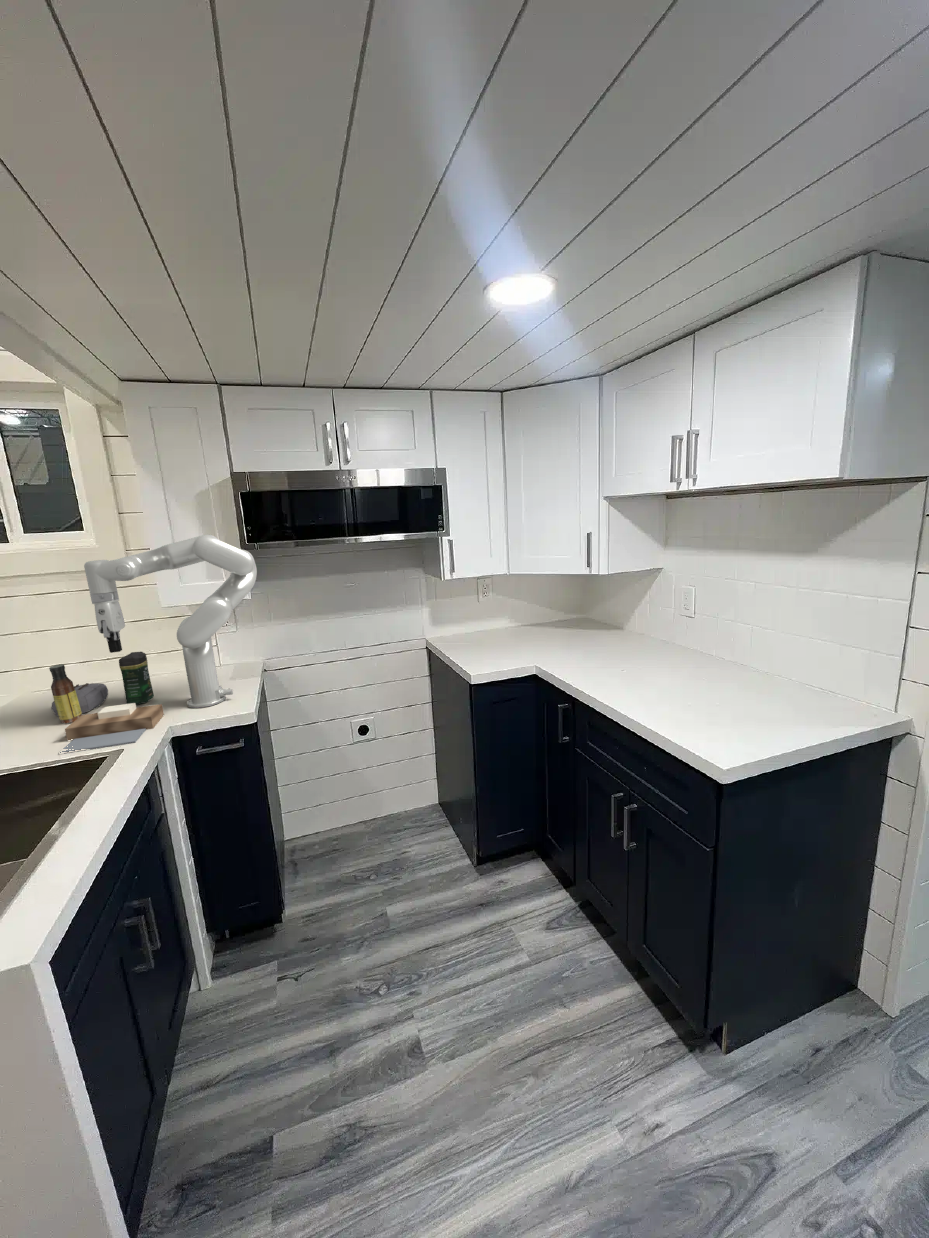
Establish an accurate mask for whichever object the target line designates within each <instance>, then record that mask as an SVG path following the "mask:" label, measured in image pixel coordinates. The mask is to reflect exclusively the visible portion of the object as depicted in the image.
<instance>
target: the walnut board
mask: <svg viewBox="0 0 929 1238" xmlns="http://www.w3.org/2000/svg"><path fill="white" fill-rule="evenodd" d="M98 713H99V712H95V713H88V714H86V713H85V714H82V715H81V716H80V717H79V718H78V719H76V720H75V721H74V722H72V723H69V725H68V726H66V727H65V728H64V732H65V735H66V736H65V737H66V740H71V739H77V738H84V737H91V736H97V735H104V734H111V733H118V732H125V731H131V730H138V729H145V728H146V730H153V729H154V728H155V727H156V726H157V724H159V722H160V721H161V720H162V718H163V717H164V716H165V714H164V708H163V704H162V703H161V704H160V703H158V704H152V705H146V706H136V709H135V710H134V712H133V713H132V714H131V715H126V716H119V717H111V718H104V719H99V718H98ZM163 715H164V716H163ZM160 719H161V720H160Z"/></svg>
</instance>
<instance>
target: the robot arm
mask: <svg viewBox="0 0 929 1238" xmlns="http://www.w3.org/2000/svg"><path fill="white" fill-rule="evenodd" d="M202 562H206V563H209V564H211V565H213V566H215V567H218V568H220V569H223V570H225V571H227V572H230V575H229V576H228V578H227V579H226V580H225V581H224V582H223V583H222V584H221V585H220V586H219V587H218V588H217V589H216V590H215V591H214V592H213V593H212V594H211V595H210V596H208V597H206V598H205V599H204V601H203V603H202V604H201V605H200V606H199V607H198V608H197V609H196V610H195V611H194V612H192V614H191V615H189V616H187V617H185V618H184V619H183V620H182V621H181V622H180V624H179V626H178V628H177V630H176V640H177V641H178V644H180V645H181V648H182V653H183V654H182V655H183V661H184V667H185V671H186V676H187V683H188V687H189V693H190V694H189V695H190V699H189V700H187V702H186V704H187V707H188V708H191V709H192V708H193V709H201V708H208V707H211V706H215V705H219V704H220V703H223V701H225V700H226V696H230V695H233V694H234V689H232V688H222V687H223V686H222V685H220V684H219V679H218V673H217V666H216V660H215V653H214V649H213V648H214V647H213V641H212V640H213V639H212V637H213V636H214V635H215V634H216V633H217V632H218V631H219V630H220V629H221V628H222V627H223V626H224V625H225V624H226V623H227V622H228V620H229V619H230V618H231V616H232V612H233V610H234V609H235V608H236V607H237V606H238V605H239V604H240V603H241V602H242V601H243V600H244V598H246V597H247V595H248V594H250V592H251V590H252V589H253V587H254V586H255V583H256V581H257V576H258V575H257V574H258V569H257V565H256V561H255V558H254V556H253V555H252V553H250V551H248V550H245V549H242V548H241V549H240V548H238V547H235V546H234V545H232V544H229V543H227V542H225V541H223V540H221V539H219V538H218V537H217V536H215V535H212V534H203V535H199V536H195V537H190V538H187V539H183V540H179V541H176V542H172V543H169V544H165V545H162V546H160V547H157V548H155V549H151V550H148V551H143V552H140V553H136V554H135V553H134V554H131V555H127V556H123V557H120V558H117V559H111V560H108V559H97V560H89V561H86V562H85V563H84V565H83V567H84V568H83V569H84V573H85V577H86V583H87V587H88V591H89V596H90V601H91V605H94V606H93V607H94V613H95V614H94V615H95V621H96V625H97V629H98V632H99V633H100V634H103V638H104V639H106V641H107V646H108V650H109V653H119V652H122V651H123V647H122V642H121V635H120V632H121V630H124V628H125V627H126V621H125V618H124V615H123V611H122V607H121V604H120V598H119V591H118V588H117V584H116V582H129V581H132V580H134V579H136V578H139V577H142V576H145V575H150V574H153V573H156V572H157V573H158V572H161V571H167V570H177V569H180V568H183V567H188V566H191V565H195V564H199V563H202Z"/></svg>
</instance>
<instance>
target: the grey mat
mask: <svg viewBox="0 0 929 1238" xmlns="http://www.w3.org/2000/svg"><path fill="white" fill-rule="evenodd" d="M146 731H147V729H146V728H145V729H138V730H131V731H125V732H118V733H111V734H104V735H97V736H91V737H84V738H77V739H73V740H72V741H70V742H68V744H66V746H64V747H63V748H62V749H68V750H66V751H62V752H69V751H75V750H81V749H90V750H96V748H97V749H103V748H110V747H117V746H122V745H128V744H135V743H137V741H138V740H139V739H140V738H141V737H142V736H143V734H144V733H145V732H146ZM67 746H68V747H67ZM72 746H73V747H72ZM69 749H71V750H69ZM72 749H74V750H72ZM59 752H60V751H59ZM60 753H61V752H60Z"/></svg>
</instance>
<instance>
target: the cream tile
mask: <svg viewBox="0 0 929 1238" xmlns="http://www.w3.org/2000/svg"><path fill="white" fill-rule="evenodd" d="M136 708H137V705H136V704H135V703H131V704H127V703H124V704H117V705H110V706H104V707H103V708H102V709H101V710H99V711H98V712H97V713H98V718H99V719H104V718H111V717H119V716H126V715H131V714H132V713H133V712H134V710H135V709H136Z"/></svg>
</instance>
